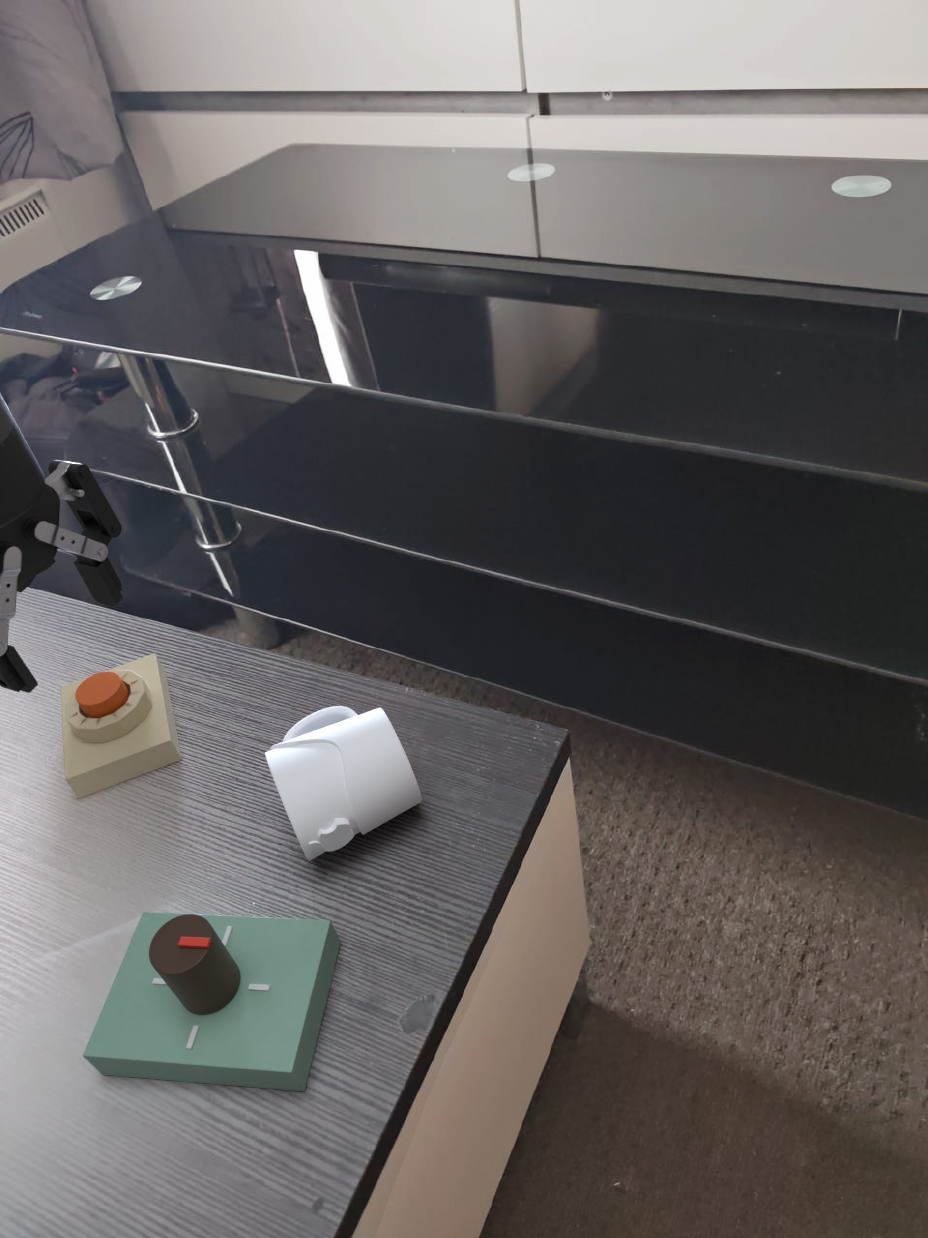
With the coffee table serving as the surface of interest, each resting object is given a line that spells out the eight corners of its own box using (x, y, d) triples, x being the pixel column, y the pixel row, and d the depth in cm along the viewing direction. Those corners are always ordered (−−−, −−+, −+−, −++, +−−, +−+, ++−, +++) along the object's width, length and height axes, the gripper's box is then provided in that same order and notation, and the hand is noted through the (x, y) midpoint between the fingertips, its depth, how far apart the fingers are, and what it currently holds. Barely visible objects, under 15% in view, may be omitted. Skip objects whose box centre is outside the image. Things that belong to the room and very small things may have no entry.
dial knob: (171, 1013, 59) (136, 970, 55) (193, 954, 62) (160, 909, 58) (229, 1017, 58) (197, 974, 54) (248, 957, 61) (219, 912, 57)
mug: (433, 829, 70) (413, 763, 64) (318, 883, 68) (288, 820, 63) (379, 727, 78) (358, 661, 73) (276, 772, 76) (246, 708, 71)
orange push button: (130, 708, 79) (122, 694, 78) (84, 725, 78) (75, 711, 77) (127, 678, 82) (119, 665, 81) (82, 694, 81) (73, 681, 80)
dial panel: (101, 1075, 60) (80, 1055, 58) (158, 932, 67) (141, 910, 65) (304, 1092, 57) (290, 1071, 55) (341, 941, 64) (330, 918, 62)
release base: (182, 760, 79) (162, 725, 76) (78, 799, 78) (54, 766, 75) (166, 672, 88) (148, 638, 85) (72, 706, 86) (51, 673, 83)
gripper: (-9, 370, 58) (97, 569, 68) (-207, 501, 49) (-49, 706, 59) (79, 380, 55) (175, 586, 65) (-115, 521, 46) (34, 732, 56)
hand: (69, 642), depth 62 cm, fingers open, 8 cm apart
